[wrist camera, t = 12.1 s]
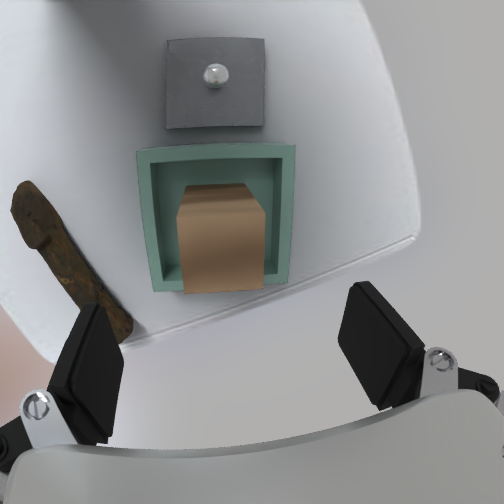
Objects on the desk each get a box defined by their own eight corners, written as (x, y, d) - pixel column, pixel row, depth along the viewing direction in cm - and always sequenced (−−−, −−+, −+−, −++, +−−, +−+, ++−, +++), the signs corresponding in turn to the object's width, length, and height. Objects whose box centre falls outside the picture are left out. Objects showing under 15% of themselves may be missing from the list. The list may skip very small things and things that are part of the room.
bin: (145, 148, 22) (136, 151, 19) (283, 143, 24) (295, 145, 21) (158, 272, 27) (153, 291, 24) (278, 265, 29) (287, 282, 26)
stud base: (168, 43, 18) (162, 29, 15) (261, 42, 19) (272, 28, 16) (167, 129, 22) (160, 129, 18) (261, 125, 23) (271, 125, 19)
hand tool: (138, 318, 29) (131, 346, 25) (112, 328, 29) (103, 356, 25) (48, 165, 21) (23, 173, 17) (23, 185, 21) (-2, 197, 17)
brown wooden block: (186, 185, 23) (176, 217, 15) (244, 183, 24) (265, 213, 16) (189, 239, 25) (184, 294, 17) (244, 236, 26) (263, 288, 18)
